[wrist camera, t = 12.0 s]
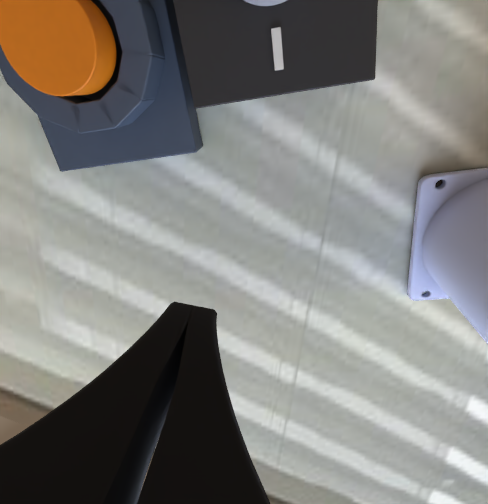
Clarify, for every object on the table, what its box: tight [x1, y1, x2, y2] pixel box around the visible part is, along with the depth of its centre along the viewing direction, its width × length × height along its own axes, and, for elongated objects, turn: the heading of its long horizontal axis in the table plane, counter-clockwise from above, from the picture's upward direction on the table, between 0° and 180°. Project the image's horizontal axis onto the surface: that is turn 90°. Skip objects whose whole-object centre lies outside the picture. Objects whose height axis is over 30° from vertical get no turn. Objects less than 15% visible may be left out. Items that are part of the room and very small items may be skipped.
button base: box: [0, 0, 203, 171], centre depth 14 cm, size 10×8×4 cm
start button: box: [0, 0, 116, 96], centre depth 12 cm, size 4×4×2 cm
